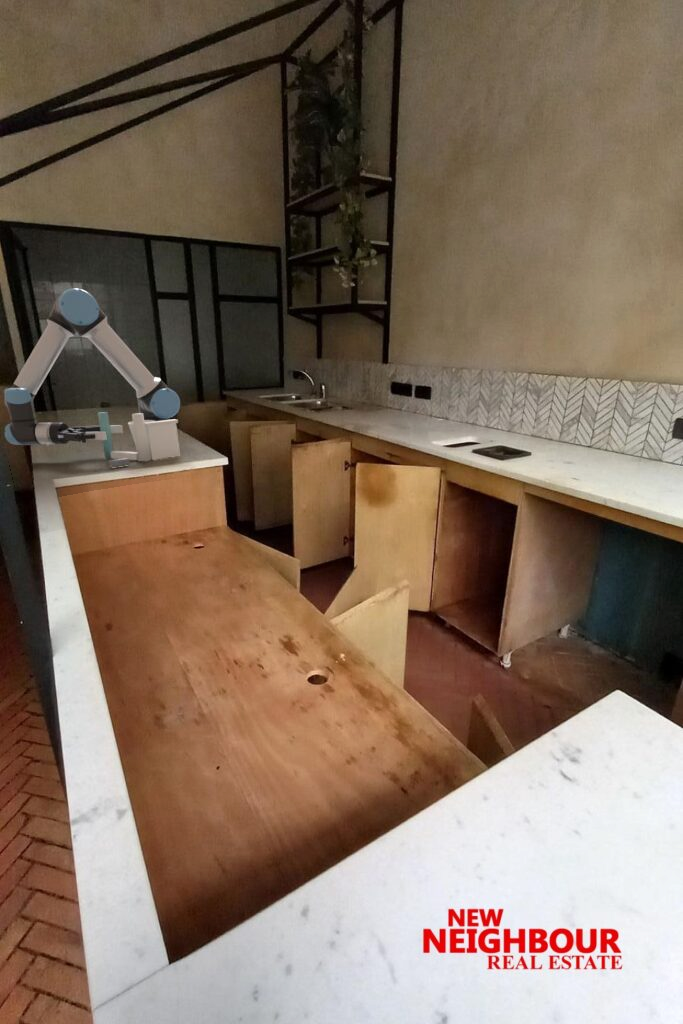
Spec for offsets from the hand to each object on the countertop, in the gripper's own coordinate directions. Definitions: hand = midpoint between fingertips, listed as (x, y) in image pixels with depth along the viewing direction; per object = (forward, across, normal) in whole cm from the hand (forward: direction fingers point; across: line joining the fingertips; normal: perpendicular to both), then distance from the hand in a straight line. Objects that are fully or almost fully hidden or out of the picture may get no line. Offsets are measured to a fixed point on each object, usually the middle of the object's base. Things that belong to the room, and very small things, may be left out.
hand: (114, 432), depth 174 cm
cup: (+5, -13, -10) cm, 17 cm away
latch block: (+6, +13, -10) cm, 17 cm away
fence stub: (+17, 0, -10) cm, 19 cm away
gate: (+4, +3, -9) cm, 10 cm away
